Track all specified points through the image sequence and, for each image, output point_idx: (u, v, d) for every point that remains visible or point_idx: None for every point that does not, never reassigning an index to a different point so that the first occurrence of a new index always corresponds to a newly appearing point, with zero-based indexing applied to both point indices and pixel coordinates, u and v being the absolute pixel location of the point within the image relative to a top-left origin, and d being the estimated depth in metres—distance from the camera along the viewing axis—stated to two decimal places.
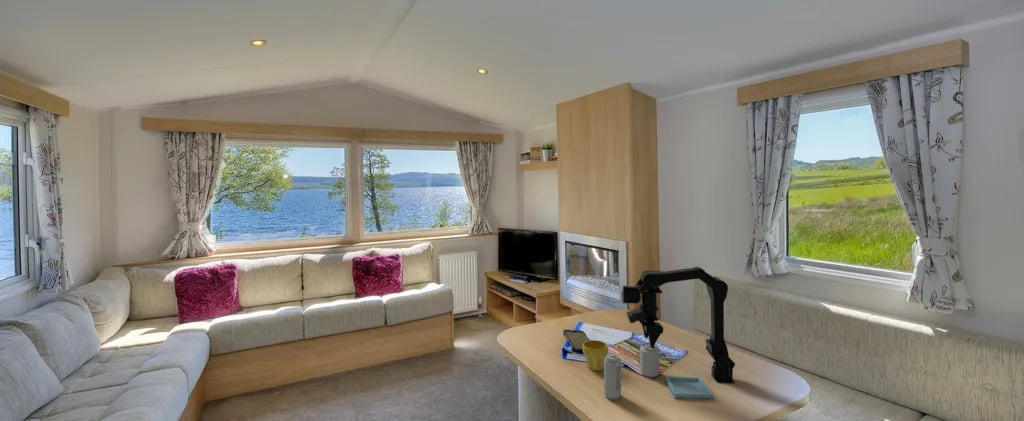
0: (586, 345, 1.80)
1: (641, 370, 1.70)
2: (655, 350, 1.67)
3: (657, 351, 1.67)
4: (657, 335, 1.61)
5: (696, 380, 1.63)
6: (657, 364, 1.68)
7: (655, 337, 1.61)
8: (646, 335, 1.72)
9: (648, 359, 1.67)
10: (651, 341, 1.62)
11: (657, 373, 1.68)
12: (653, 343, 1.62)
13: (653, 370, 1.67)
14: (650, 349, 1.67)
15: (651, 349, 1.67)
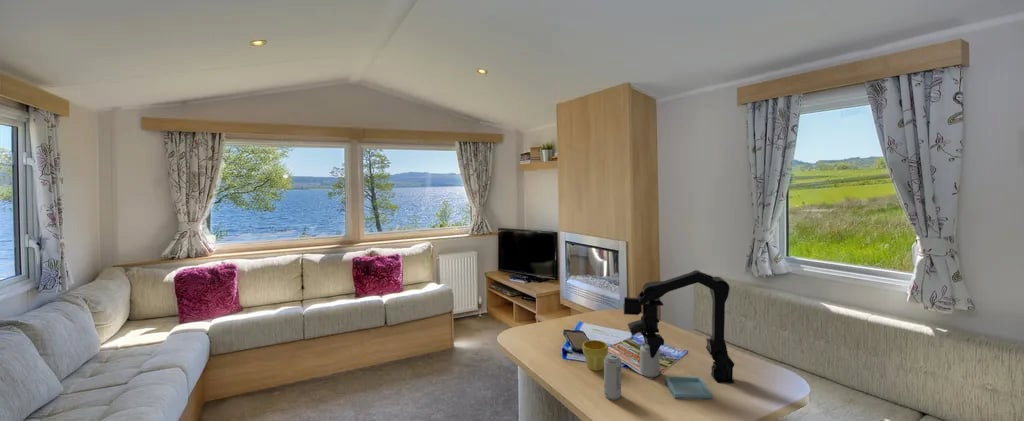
0: (586, 345, 1.80)
1: (641, 370, 1.70)
2: None
3: (657, 351, 1.67)
4: (657, 346, 1.64)
5: (696, 380, 1.63)
6: (657, 364, 1.68)
7: (655, 348, 1.65)
8: None
9: (648, 359, 1.67)
10: (651, 351, 1.65)
11: (657, 373, 1.68)
12: (653, 354, 1.66)
13: (653, 370, 1.67)
14: None
15: None
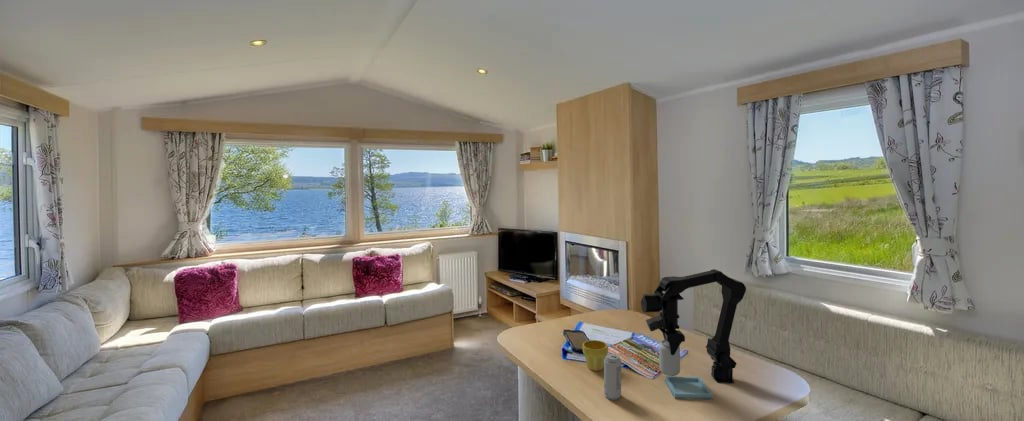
0: (586, 345, 1.80)
1: (661, 368, 1.63)
2: None
3: None
4: (678, 343, 1.57)
5: (696, 380, 1.63)
6: (677, 362, 1.60)
7: (676, 345, 1.58)
8: None
9: (668, 357, 1.60)
10: (671, 348, 1.58)
11: (678, 371, 1.61)
12: (674, 351, 1.59)
13: (673, 368, 1.60)
14: None
15: None
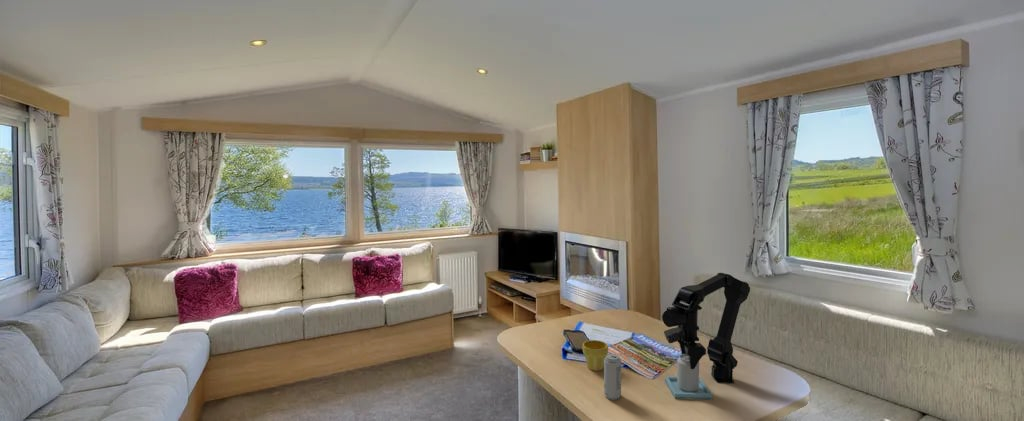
0: (586, 345, 1.80)
1: (678, 384, 1.57)
2: None
3: (697, 364, 1.54)
4: (699, 357, 1.50)
5: None
6: (696, 378, 1.55)
7: (696, 359, 1.51)
8: None
9: (687, 373, 1.54)
10: (691, 362, 1.52)
11: (696, 388, 1.55)
12: (694, 365, 1.52)
13: (692, 384, 1.54)
14: (689, 362, 1.54)
15: None
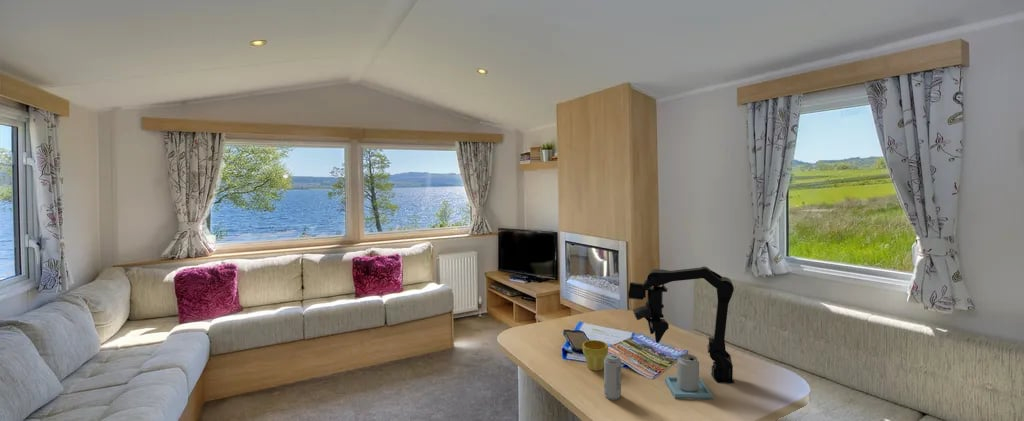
0: (586, 345, 1.80)
1: (678, 384, 1.57)
2: (694, 363, 1.54)
3: (696, 364, 1.54)
4: (662, 331, 1.68)
5: None
6: (696, 378, 1.55)
7: (660, 333, 1.68)
8: (652, 331, 1.79)
9: (687, 373, 1.54)
10: (656, 337, 1.69)
11: (696, 388, 1.55)
12: (658, 339, 1.69)
13: (692, 384, 1.54)
14: (689, 362, 1.54)
15: (690, 362, 1.54)
